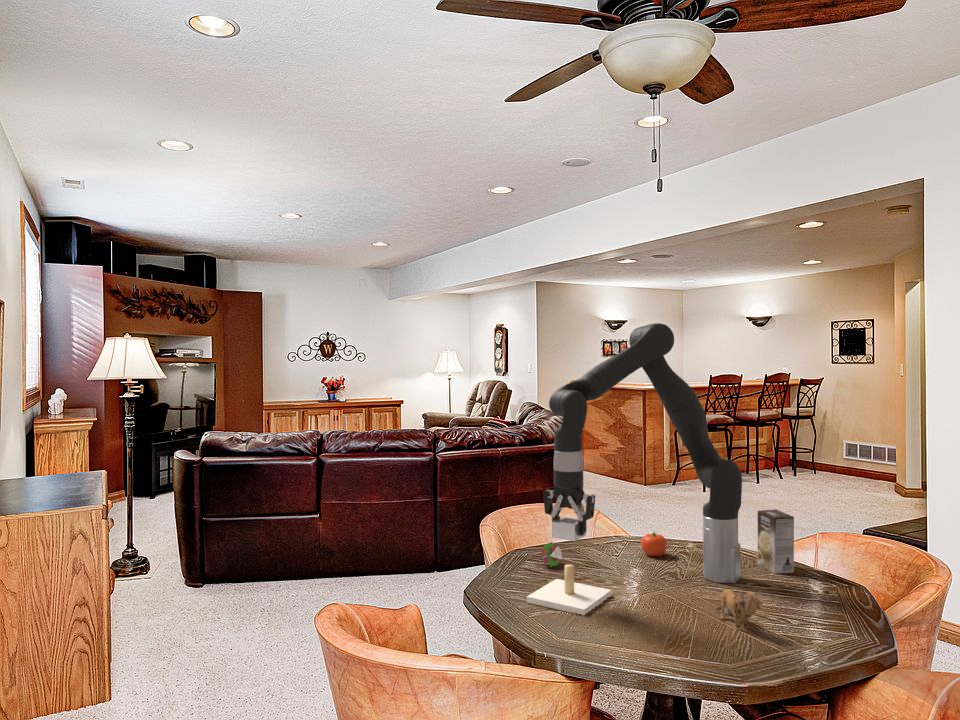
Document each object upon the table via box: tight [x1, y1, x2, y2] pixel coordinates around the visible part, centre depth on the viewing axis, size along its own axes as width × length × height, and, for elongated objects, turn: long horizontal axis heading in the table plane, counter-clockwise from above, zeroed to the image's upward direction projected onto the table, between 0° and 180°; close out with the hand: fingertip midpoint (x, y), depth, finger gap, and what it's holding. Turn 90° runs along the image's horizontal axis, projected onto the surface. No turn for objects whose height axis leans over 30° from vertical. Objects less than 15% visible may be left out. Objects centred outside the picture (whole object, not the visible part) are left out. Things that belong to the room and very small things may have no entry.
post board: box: [526, 563, 612, 616], centre depth 174 cm, size 16×16×8 cm
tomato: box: [640, 531, 668, 557], centre depth 210 cm, size 8×8×7 cm
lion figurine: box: [715, 588, 764, 631], centre depth 157 cm, size 15×5×9 cm, turn 17°
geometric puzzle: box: [538, 541, 564, 568], centre depth 201 cm, size 7×7×8 cm
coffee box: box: [757, 509, 795, 574], centre depth 196 cm, size 9×6×16 cm
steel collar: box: [551, 516, 587, 542], centre depth 173 cm, size 6×6×4 cm
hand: (569, 533), depth 173 cm, fingers closed on steel collar, 6 cm apart
